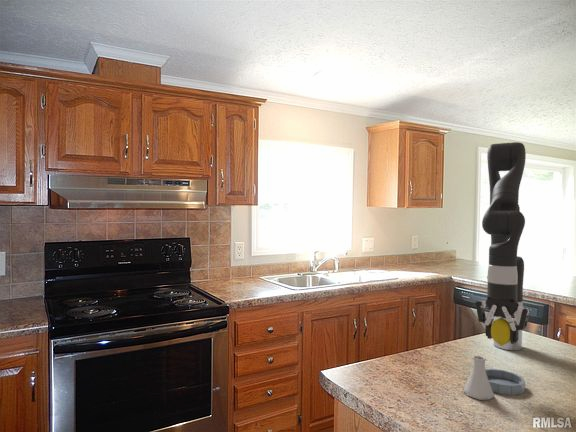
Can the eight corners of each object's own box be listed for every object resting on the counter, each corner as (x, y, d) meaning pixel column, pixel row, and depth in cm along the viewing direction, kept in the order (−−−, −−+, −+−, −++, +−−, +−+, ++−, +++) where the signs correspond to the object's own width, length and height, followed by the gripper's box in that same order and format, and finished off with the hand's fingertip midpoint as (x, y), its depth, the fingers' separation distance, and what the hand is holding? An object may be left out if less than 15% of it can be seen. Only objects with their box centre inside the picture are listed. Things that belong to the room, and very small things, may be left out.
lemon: (485, 344, 117) (486, 316, 117) (499, 341, 119) (500, 314, 119) (502, 350, 112) (503, 321, 112) (517, 347, 114) (517, 319, 114)
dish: (487, 374, 124) (487, 365, 124) (530, 386, 115) (530, 377, 115) (471, 384, 116) (471, 376, 116) (515, 398, 107) (515, 389, 107)
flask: (479, 402, 105) (480, 364, 105) (457, 391, 111) (458, 354, 111) (499, 398, 108) (500, 360, 108) (477, 387, 114) (477, 351, 114)
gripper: (535, 283, 112) (534, 344, 113) (481, 276, 123) (480, 332, 123) (526, 286, 107) (525, 350, 107) (470, 279, 118) (470, 337, 118)
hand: (501, 340), depth 115 cm, fingers closed on lemon, 5 cm apart
